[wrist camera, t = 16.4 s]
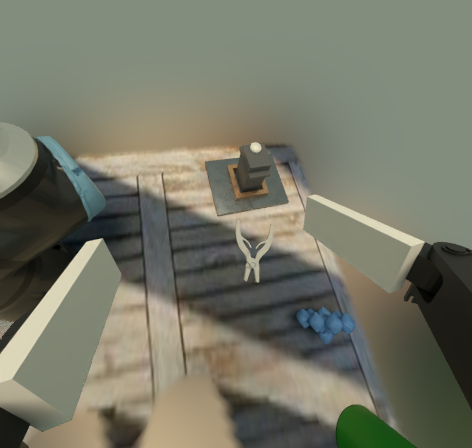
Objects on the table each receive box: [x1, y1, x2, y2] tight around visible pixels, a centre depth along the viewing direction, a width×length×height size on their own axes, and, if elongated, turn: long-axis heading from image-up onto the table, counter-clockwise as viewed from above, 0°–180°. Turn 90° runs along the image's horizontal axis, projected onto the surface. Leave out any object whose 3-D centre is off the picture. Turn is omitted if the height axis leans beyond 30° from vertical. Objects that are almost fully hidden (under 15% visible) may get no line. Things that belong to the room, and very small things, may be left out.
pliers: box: [236, 219, 273, 283], centre depth 44 cm, size 10×2×15 cm
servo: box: [235, 142, 272, 193], centre depth 44 cm, size 5×8×12 cm, turn 15°
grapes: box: [296, 307, 355, 345], centre depth 36 cm, size 12×7×12 cm, turn 86°
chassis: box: [205, 154, 289, 216], centre depth 49 cm, size 20×16×2 cm
